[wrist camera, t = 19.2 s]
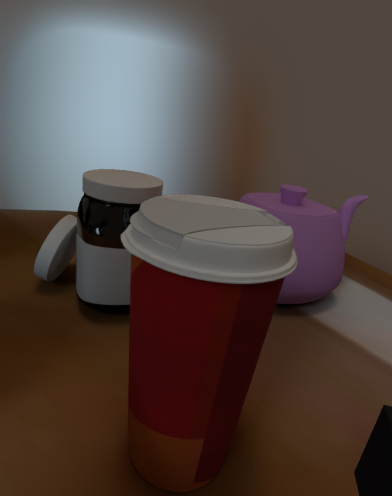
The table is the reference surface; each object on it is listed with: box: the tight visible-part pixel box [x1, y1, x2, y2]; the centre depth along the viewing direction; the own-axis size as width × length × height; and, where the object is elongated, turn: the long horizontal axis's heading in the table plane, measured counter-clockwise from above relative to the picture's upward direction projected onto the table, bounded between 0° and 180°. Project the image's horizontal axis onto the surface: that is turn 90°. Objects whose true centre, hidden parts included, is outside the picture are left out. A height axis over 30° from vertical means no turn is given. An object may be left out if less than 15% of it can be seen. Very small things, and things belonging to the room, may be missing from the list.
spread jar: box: [34, 169, 163, 314], centre depth 33 cm, size 12×11×12 cm
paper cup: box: [121, 195, 297, 492], centre depth 18 cm, size 8×8×14 cm
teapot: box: [239, 185, 369, 304], centre depth 41 cm, size 20×13×12 cm, turn 114°
